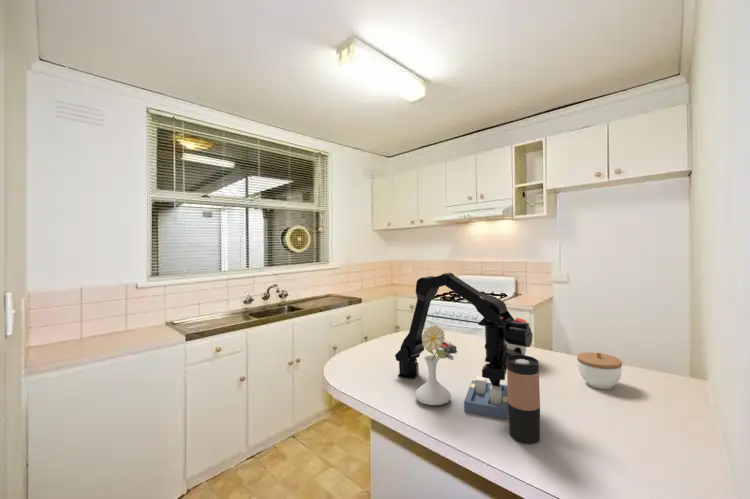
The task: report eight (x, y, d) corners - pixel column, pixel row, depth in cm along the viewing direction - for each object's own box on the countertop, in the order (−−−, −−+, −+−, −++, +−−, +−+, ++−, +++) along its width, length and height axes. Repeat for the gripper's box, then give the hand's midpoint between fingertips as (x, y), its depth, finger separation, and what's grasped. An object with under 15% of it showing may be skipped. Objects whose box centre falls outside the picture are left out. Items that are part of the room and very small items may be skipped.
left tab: (475, 393, 107) (475, 379, 107) (477, 389, 110) (476, 376, 110) (485, 394, 106) (485, 381, 106) (486, 390, 109) (486, 377, 109)
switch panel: (464, 411, 99) (463, 400, 99) (472, 389, 114) (472, 379, 114) (507, 419, 94) (507, 408, 94) (510, 394, 109) (509, 385, 109)
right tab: (490, 403, 100) (489, 389, 100) (491, 399, 103) (490, 385, 103) (500, 405, 99) (500, 390, 99) (501, 400, 102) (501, 386, 101)
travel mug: (503, 429, 89) (501, 355, 89) (530, 426, 90) (528, 353, 90) (517, 446, 82) (515, 366, 81) (547, 443, 82) (545, 364, 82)
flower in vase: (408, 396, 110) (406, 321, 109) (437, 389, 114) (435, 317, 114) (430, 415, 98) (427, 331, 97) (461, 406, 102) (459, 326, 102)
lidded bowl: (574, 386, 113) (573, 354, 113) (582, 374, 122) (581, 344, 122) (619, 396, 105) (618, 362, 104) (624, 383, 114) (624, 351, 114)
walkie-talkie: (426, 347, 161) (450, 360, 142) (426, 338, 160) (450, 350, 142) (442, 344, 164) (467, 357, 145) (442, 335, 164) (467, 347, 145)
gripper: (523, 353, 91) (524, 409, 91) (524, 334, 108) (525, 382, 108) (480, 349, 96) (482, 402, 96) (488, 332, 113) (489, 377, 113)
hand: (496, 390), depth 103 cm, fingers closed
